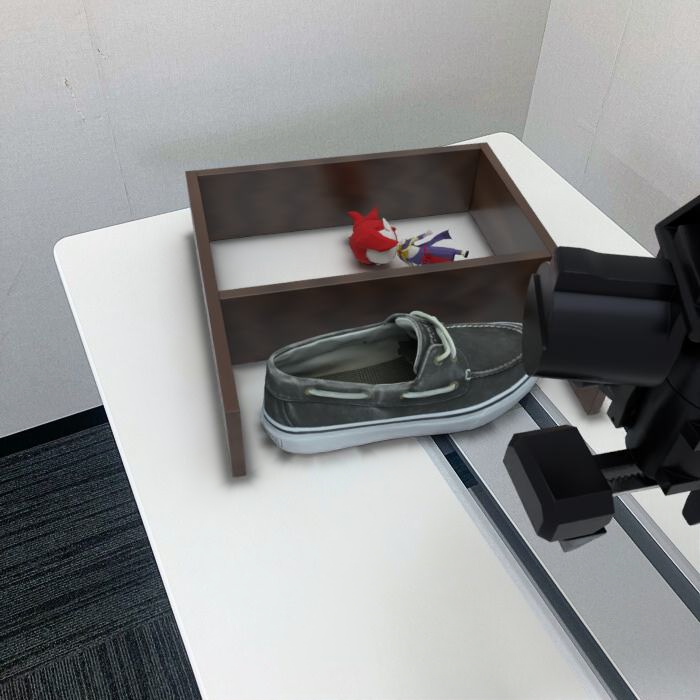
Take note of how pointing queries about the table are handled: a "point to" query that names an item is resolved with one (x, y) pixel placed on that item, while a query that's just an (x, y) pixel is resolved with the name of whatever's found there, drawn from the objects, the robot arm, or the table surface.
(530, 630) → the table surface
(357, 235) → the figurine
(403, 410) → the boat shoe
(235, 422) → the shoe rack
